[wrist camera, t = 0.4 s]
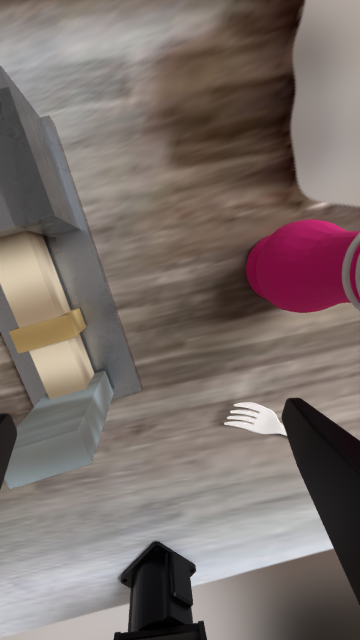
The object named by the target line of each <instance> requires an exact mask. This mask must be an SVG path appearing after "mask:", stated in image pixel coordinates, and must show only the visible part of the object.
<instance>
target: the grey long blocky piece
mask: <svg viewBox="0 0 360 640" xmlns="http://www.w3.org/2000/svg"><path fill="white" fill-rule="evenodd" d="M25 230H28V231H31V232H35V233H38V234H42V236H43V238H44V241H45V244H46V246H47V249H48V252H49V254H50V257H51V259H52V262H53V265H54V267H55V270H56V273H57V275H58V278H59V281H60V283H61V286H62V289H63V291H64V294H65V297H66V299H67V302H68V305H69V307H70V310H74V309H77V308H79V309H80V311H81V314H82V317H83V320H84V322H85V325H86V328H85V329H84V330H83V331H82V332H80V333H79V334H80V337H81V339H82V342H83V345H84V347H85V350H86V353H87V355H88V358H89V361H90V363H91V366H92V369H93V371H94V374H95V373H98V372H102V371H105V372H106V375H107V377H108V380H109V383H110V386H111V388H112V391H113V396H112V399H111V400H113V399H116V398H119V397H123V396H126V395H129V394H133V393H136V392H139V391H142V384H141V381H140V378H139V375H138V372H137V369H136V366H135V363H134V360H133V357H132V354H131V351H130V348H129V345H128V342H127V339H126V336H125V333H124V330H123V327H122V324H121V321H120V318H119V315H118V312H117V309H116V306H115V303H114V300H113V297H112V294H111V291H110V288H109V285H108V282H107V279H106V277H105V274H104V271H103V268H102V265H101V262H100V259H99V256H98V253H97V250H96V247H95V244H94V241H93V238H92V235H91V232H90V229H89V226H88V223H87V220H86V217H85V214H84V211H83V208H82V205H81V202H80V199H79V196H78V193H77V190H76V187H75V184H74V181H73V178H72V175H71V172H70V169H69V166H68V163H67V160H66V157H65V154H64V151H63V148H62V145H61V142H60V139H59V136H58V133H57V130H56V127H55V124H54V122H53V121H52V119H51V118H50V116H45V117H41V118H40V117H39V116H38V114H37V113H36V112H35V110H34V109H33V108H32V106H31V105H30V104H29V102H28V101H27V100H26V98H25V97H24V96H23V94H22V93H21V92H20V90H19V89H18V88H17V86H16V85H15V84H14V82H13V81H12V80H11V78H10V77H9V76H8V75H7V73H6V72H5V71H4V69H3V68H2V67H1V66H0V237H3V236H7V235H10V234H14V233H18V232H21V231H25ZM18 327H19V326H18V324H17V322H16V319H15V317H14V315H13V312H12V310H11V308H10V305H9V303H8V301H7V298H6V296H5V294H4V291H3V289H2V287H1V284H0V332H1V334H2V336H3V339H4V341H5V343H6V345H7V348H8V350H9V352H10V354H11V357H12V359H13V361H14V363H15V366H16V368H17V370H18V372H19V375H20V377H21V379H22V381H23V383H24V386H25V388H26V390H27V392H28V395H29V397H30V399H31V401H32V404H33V406H34V407H35V405H36V404H37V403H38V402H39V401H40V399H41V398H42V397H43V396H44V395H45V394H46V389H45V387H44V385H43V382H42V380H41V378H40V375H39V373H38V371H37V368H36V366H35V364H34V361H33V359H32V357H31V354H30V352H29V351H26V352H23V353H19V354H18V352H17V349H16V347H15V345H14V342H13V340H12V338H11V336H10V333H9V331H11V330H13V329H16V328H18Z"/></svg>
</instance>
